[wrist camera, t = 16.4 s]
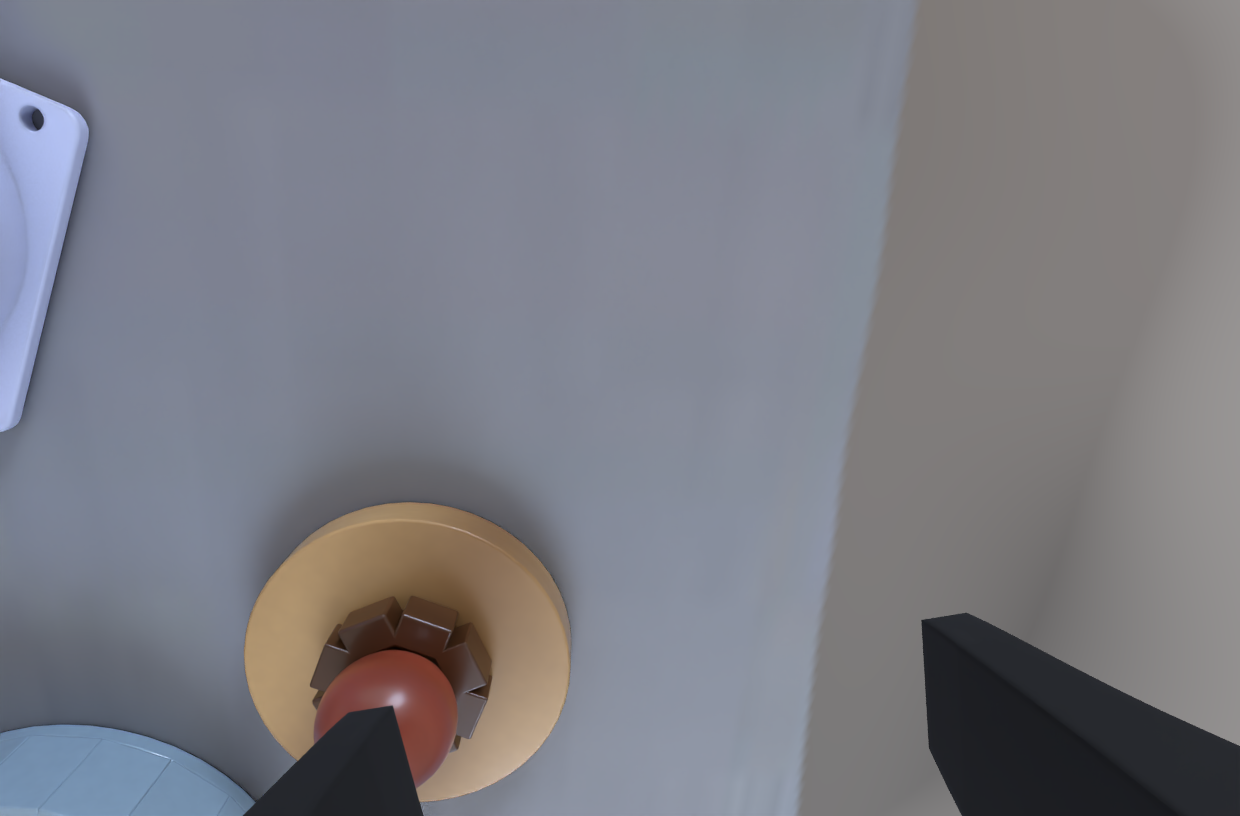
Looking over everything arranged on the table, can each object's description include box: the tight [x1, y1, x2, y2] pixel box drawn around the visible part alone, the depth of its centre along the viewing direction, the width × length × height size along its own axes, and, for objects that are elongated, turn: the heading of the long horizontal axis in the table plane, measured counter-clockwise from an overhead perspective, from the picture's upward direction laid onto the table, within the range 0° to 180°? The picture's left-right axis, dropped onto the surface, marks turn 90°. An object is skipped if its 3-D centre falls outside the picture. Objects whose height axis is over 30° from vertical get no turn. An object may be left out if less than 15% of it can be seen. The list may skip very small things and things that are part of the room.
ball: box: [314, 650, 458, 788], centre depth 17 cm, size 3×3×3 cm
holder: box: [244, 502, 571, 802], centre depth 19 cm, size 8×8×2 cm
